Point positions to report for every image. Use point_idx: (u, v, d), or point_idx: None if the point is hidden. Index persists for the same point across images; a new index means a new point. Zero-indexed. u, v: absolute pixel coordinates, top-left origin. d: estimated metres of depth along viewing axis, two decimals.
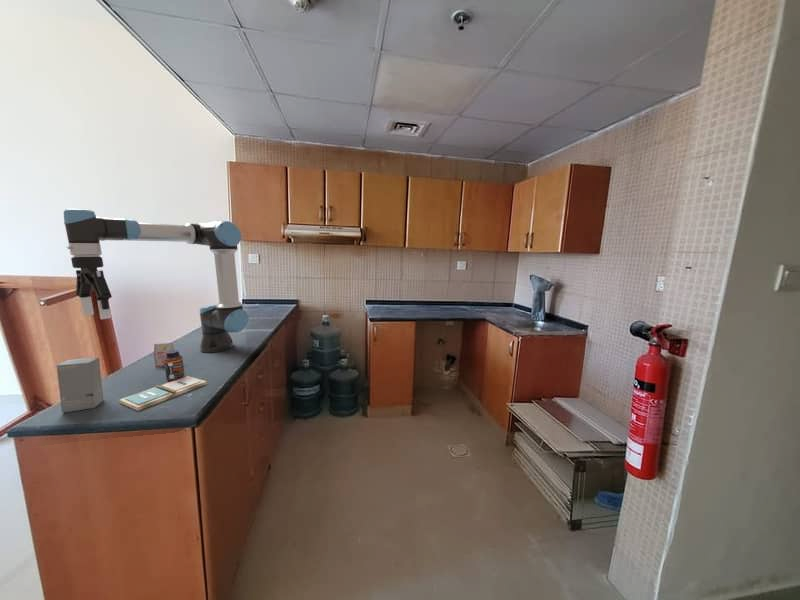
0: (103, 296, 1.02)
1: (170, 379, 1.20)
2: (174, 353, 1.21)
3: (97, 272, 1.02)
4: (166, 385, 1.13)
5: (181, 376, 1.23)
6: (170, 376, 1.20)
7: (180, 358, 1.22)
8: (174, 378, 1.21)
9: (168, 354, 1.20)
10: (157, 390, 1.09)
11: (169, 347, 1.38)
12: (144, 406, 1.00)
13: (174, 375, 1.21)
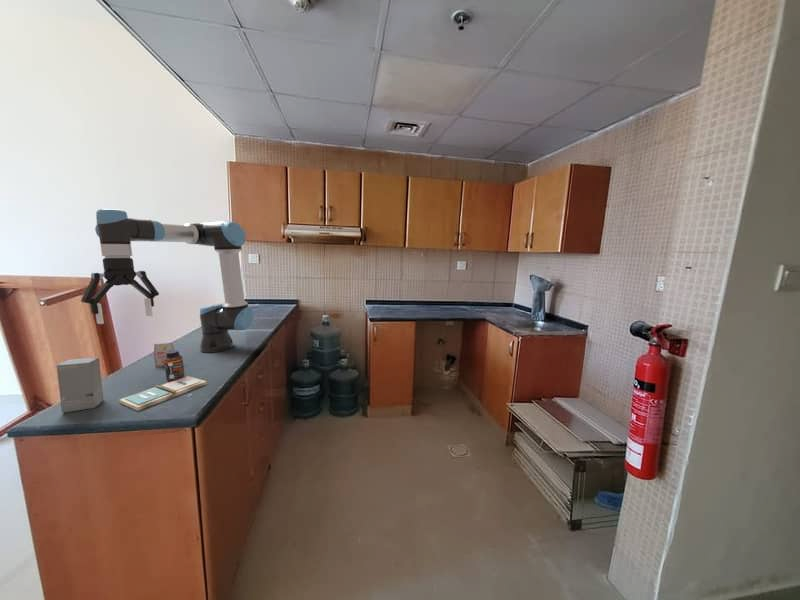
0: (81, 300, 0.95)
1: (170, 379, 1.20)
2: (174, 353, 1.21)
3: (92, 274, 0.97)
4: (166, 385, 1.13)
5: (181, 376, 1.23)
6: (170, 376, 1.20)
7: (180, 358, 1.22)
8: (174, 378, 1.21)
9: (168, 354, 1.20)
10: (157, 390, 1.09)
11: (169, 347, 1.38)
12: (144, 406, 1.00)
13: (174, 375, 1.21)
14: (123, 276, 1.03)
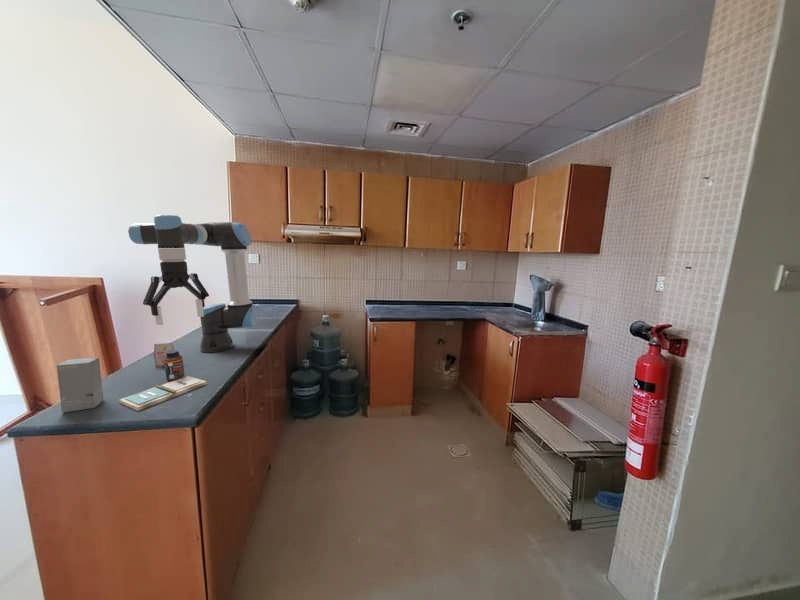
0: (143, 302, 1.00)
1: (170, 379, 1.20)
2: (174, 353, 1.21)
3: (152, 278, 1.02)
4: (166, 385, 1.13)
5: (181, 376, 1.23)
6: (170, 376, 1.20)
7: (180, 358, 1.22)
8: (174, 378, 1.21)
9: (168, 354, 1.20)
10: (157, 390, 1.09)
11: (169, 347, 1.37)
12: (144, 406, 1.00)
13: (174, 375, 1.21)
14: (178, 279, 1.07)
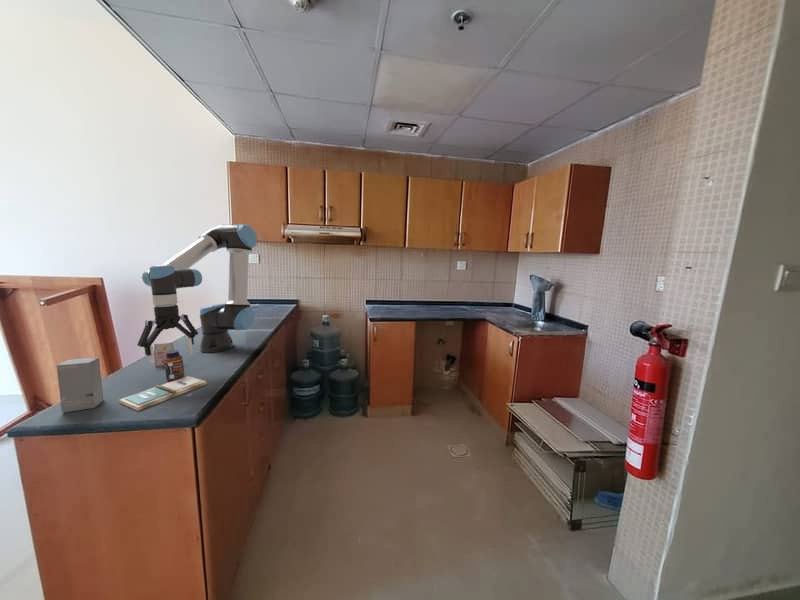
0: (137, 344, 1.12)
1: (170, 379, 1.20)
2: (174, 353, 1.21)
3: (146, 322, 1.13)
4: (166, 385, 1.13)
5: (181, 376, 1.23)
6: (170, 376, 1.20)
7: (180, 358, 1.22)
8: (174, 378, 1.21)
9: (168, 354, 1.20)
10: (157, 390, 1.09)
11: (169, 347, 1.37)
12: (144, 406, 1.00)
13: (174, 375, 1.21)
14: (170, 321, 1.19)
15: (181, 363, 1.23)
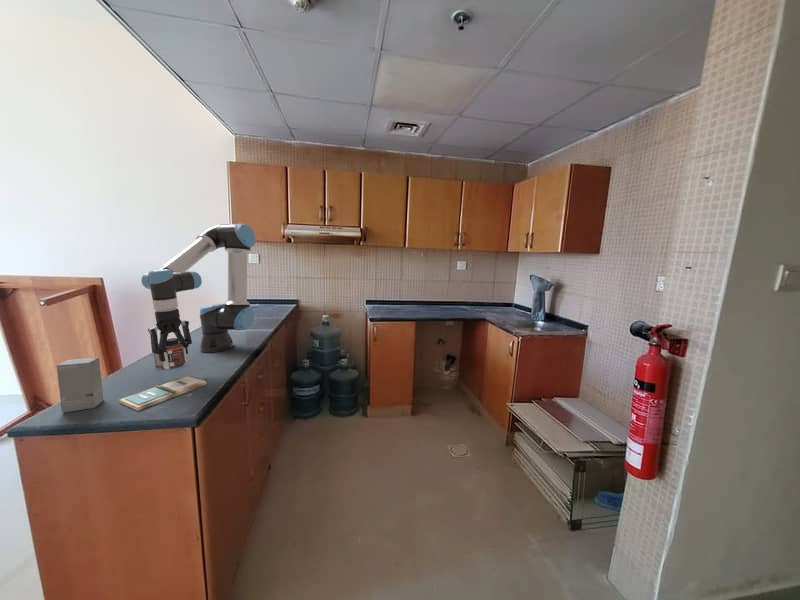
0: (152, 351, 1.16)
1: (170, 367, 1.20)
2: (173, 341, 1.20)
3: (149, 331, 1.14)
4: (166, 385, 1.13)
5: (181, 364, 1.23)
6: (170, 364, 1.20)
7: (179, 346, 1.22)
8: (174, 366, 1.21)
9: (167, 342, 1.20)
10: (157, 390, 1.09)
11: None
12: (144, 406, 1.00)
13: (174, 363, 1.21)
14: (172, 324, 1.20)
15: (181, 351, 1.22)
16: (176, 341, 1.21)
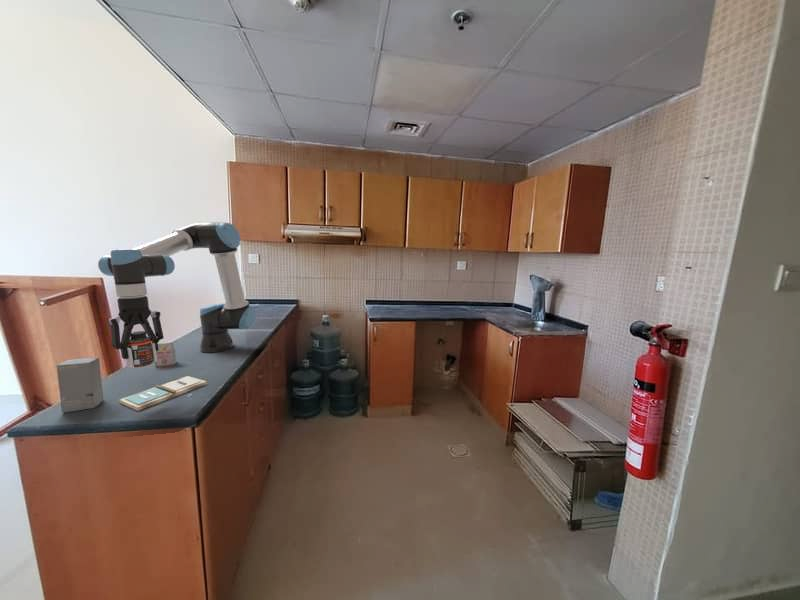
0: (112, 346, 0.97)
1: (135, 365, 1.01)
2: (140, 334, 1.01)
3: (109, 321, 0.95)
4: (166, 385, 1.13)
5: (149, 362, 1.03)
6: (135, 361, 1.00)
7: (147, 340, 1.02)
8: (140, 364, 1.01)
9: (132, 335, 1.00)
10: (157, 390, 1.09)
11: (169, 347, 1.37)
12: (144, 406, 1.00)
13: (140, 361, 1.01)
14: (138, 314, 1.01)
15: (149, 346, 1.03)
16: (143, 335, 1.02)
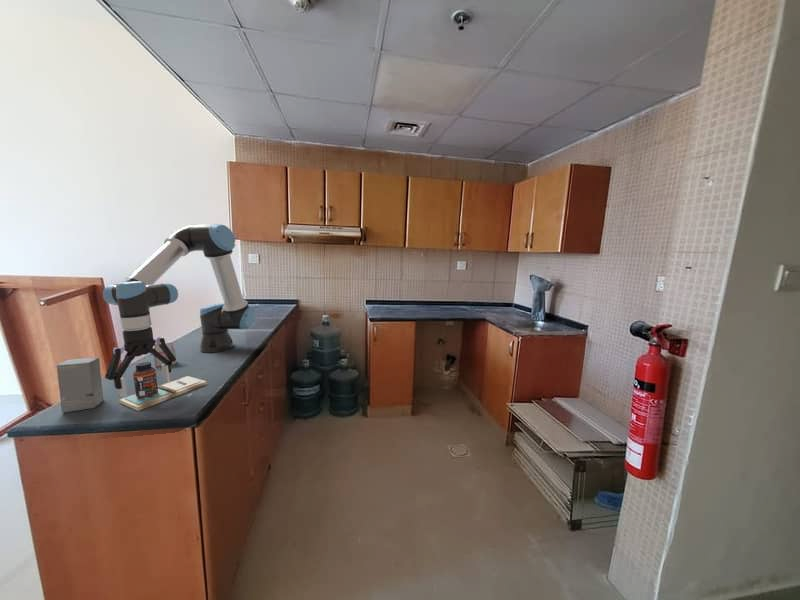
0: (105, 377, 0.96)
1: (140, 396, 1.03)
2: (145, 366, 1.03)
3: (113, 350, 0.97)
4: (166, 385, 1.13)
5: (154, 392, 1.05)
6: (140, 393, 1.02)
7: (152, 371, 1.04)
8: (145, 395, 1.03)
9: (138, 367, 1.02)
10: None
11: (169, 347, 1.37)
12: (144, 406, 1.00)
13: (145, 392, 1.03)
14: (143, 346, 1.03)
15: (154, 377, 1.05)
16: (148, 366, 1.04)
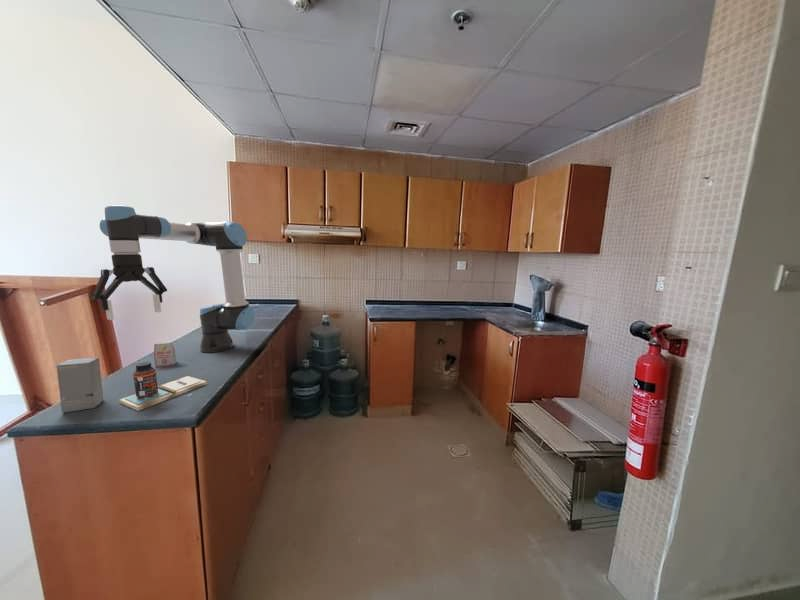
0: (91, 296, 0.96)
1: (140, 396, 1.03)
2: (145, 366, 1.03)
3: (102, 271, 0.98)
4: (166, 385, 1.13)
5: (154, 392, 1.05)
6: (140, 393, 1.02)
7: (152, 371, 1.04)
8: (145, 395, 1.03)
9: (138, 367, 1.02)
10: None
11: (169, 347, 1.37)
12: (144, 406, 1.00)
13: (145, 392, 1.03)
14: (132, 272, 1.03)
15: (154, 377, 1.05)
16: (148, 366, 1.04)
